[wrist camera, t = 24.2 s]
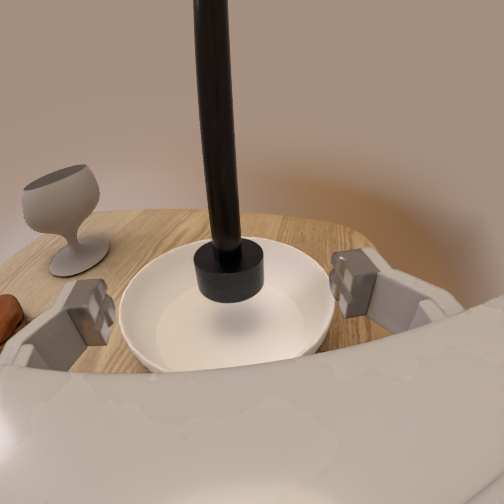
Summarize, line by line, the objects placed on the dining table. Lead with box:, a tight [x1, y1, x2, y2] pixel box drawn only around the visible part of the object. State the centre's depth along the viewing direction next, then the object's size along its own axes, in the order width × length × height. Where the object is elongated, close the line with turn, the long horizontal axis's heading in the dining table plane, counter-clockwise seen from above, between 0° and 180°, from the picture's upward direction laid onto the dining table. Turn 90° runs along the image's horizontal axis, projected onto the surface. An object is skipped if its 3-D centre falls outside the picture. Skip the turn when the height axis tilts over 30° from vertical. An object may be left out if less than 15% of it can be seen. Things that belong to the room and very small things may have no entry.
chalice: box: [22, 165, 109, 276], centre depth 39 cm, size 14×14×15 cm
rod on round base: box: [193, 0, 264, 303], centre depth 19 cm, size 6×6×24 cm
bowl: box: [119, 236, 335, 373], centre depth 26 cm, size 20×20×6 cm
